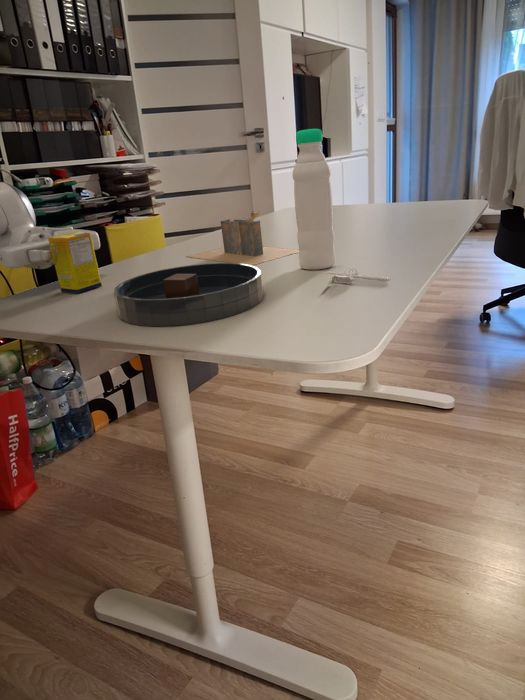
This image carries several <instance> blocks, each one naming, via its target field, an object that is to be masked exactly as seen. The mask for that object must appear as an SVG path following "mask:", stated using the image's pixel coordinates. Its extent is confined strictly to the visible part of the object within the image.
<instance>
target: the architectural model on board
mask: <svg viewBox="0 0 525 700" xmlns="http://www.w3.org/2000/svg"><path fill="white" fill-rule="evenodd" d="M259 215H260V211H257V212H255V210H253V211H252V212H250V218H249V219H233V220H231V219H230V218H229V219H223V220H220V229H221V235H222V244H223V247H224V250H223V249H220V248H221V247H220V248H215V249H211V250H207V251H203V252H199V253H195V254H191V255H187V256H185V257H186V258H193V259H194V258H195V259H201V260H208V261H215V262H221V263H238V264H247V265H252V266H255V265H258V264H263V263H266V262H269V261H272V260H277V259H280V258H284V257H288V256H291V255H294V254H297V253H298V254H299V249H296V248H295V249H294V248H283V247H273V246H272V247H271V246H264V245H263V239H262V227H261V220H255V219H256V218H257V217H259Z"/></svg>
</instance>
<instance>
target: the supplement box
mask: <svg viewBox="0 0 525 700" xmlns="http://www.w3.org/2000/svg"><path fill="white" fill-rule="evenodd" d="M48 240H49V244H50V248H51V251H52V255H53V260H54V264H53V265H54V268H55V272H56V276H57V280H58V284H59V288H60V292H62V293H69V294H70V293H71V294H81V293H84V292H87V291H90V290H93V289H96V288H99V287H102V286H103V284H102V279H101V275H100V271H99V265H98V261H97V257H96V252H95V250H94V248H93V243H92V239H91V234H90V232H73V233H68V234H64V235H59V236H54V237H49V238H48Z"/></svg>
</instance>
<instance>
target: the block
mask: <svg viewBox="0 0 525 700" xmlns="http://www.w3.org/2000/svg"><path fill="white" fill-rule="evenodd" d="M163 282H164V288H165V294H166V299H169V298H180V297H188V296H195V295H200V292H199V286H198V279H197V274H175V275H173V276H170V277H168V278H166V279H164V280H163Z"/></svg>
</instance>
